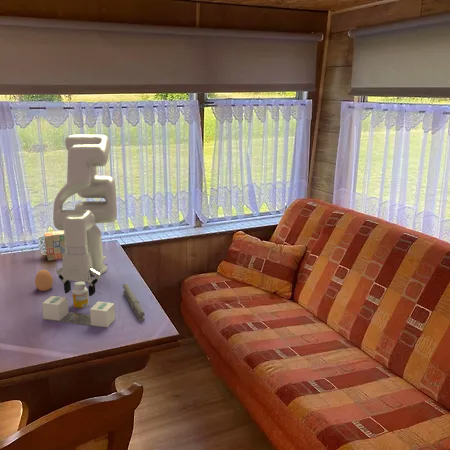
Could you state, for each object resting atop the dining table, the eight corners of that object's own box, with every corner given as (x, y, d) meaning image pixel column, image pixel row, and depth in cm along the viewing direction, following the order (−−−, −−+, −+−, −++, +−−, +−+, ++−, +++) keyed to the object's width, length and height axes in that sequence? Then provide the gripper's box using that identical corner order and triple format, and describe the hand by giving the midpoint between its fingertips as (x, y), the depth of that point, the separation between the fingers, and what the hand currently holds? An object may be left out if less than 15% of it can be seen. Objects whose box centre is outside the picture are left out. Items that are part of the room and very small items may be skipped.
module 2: (99, 316, 163) (98, 300, 161) (115, 318, 162) (114, 302, 160) (91, 325, 157) (89, 308, 155) (107, 327, 156) (106, 310, 154)
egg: (32, 292, 183) (29, 271, 180) (45, 286, 189) (42, 265, 186) (44, 296, 180) (42, 274, 178) (57, 289, 186) (55, 268, 184)
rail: (54, 313, 167) (54, 310, 167) (116, 321, 162) (115, 318, 162) (43, 322, 161) (43, 319, 160) (106, 331, 156) (106, 328, 156)
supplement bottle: (75, 304, 174) (73, 280, 171) (90, 303, 175) (88, 280, 172) (72, 311, 169) (70, 286, 166) (87, 310, 170) (85, 286, 167)
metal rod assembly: (122, 295, 183) (121, 283, 181) (129, 294, 184) (128, 282, 183) (138, 325, 161) (138, 312, 159) (146, 323, 162) (146, 311, 160)
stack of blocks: (92, 250, 230) (90, 227, 227) (94, 254, 225) (92, 230, 221) (46, 256, 221) (44, 232, 218) (47, 260, 216) (45, 235, 212)
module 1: (53, 310, 167) (52, 295, 165) (68, 312, 165) (67, 297, 163) (43, 318, 161) (42, 302, 159) (59, 320, 160) (57, 304, 158)
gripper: (48, 250, 163) (53, 295, 168) (93, 254, 160) (96, 300, 164) (60, 244, 170) (64, 287, 175) (103, 248, 167) (106, 291, 171)
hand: (79, 293), depth 170 cm, fingers open, 9 cm apart
